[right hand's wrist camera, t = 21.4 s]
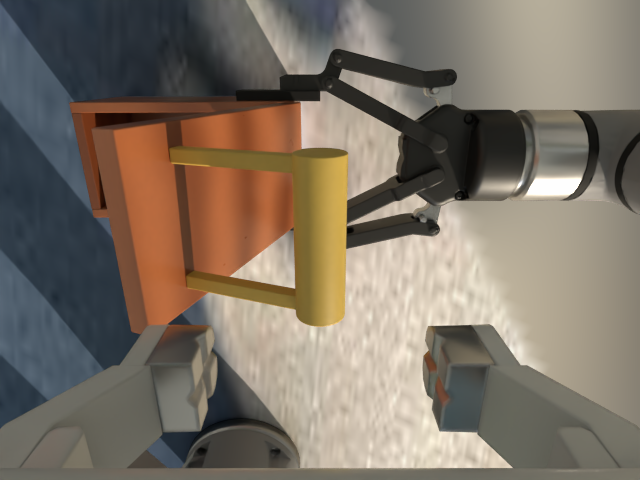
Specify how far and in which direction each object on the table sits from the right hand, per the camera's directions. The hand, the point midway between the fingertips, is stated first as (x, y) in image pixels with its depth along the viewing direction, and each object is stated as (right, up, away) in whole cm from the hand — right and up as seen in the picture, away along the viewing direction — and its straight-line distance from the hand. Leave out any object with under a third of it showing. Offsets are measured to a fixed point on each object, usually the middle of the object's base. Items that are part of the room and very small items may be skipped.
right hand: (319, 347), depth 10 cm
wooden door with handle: (-6, +6, +15) cm, 17 cm away
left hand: (-6, +10, +25) cm, 28 cm away
